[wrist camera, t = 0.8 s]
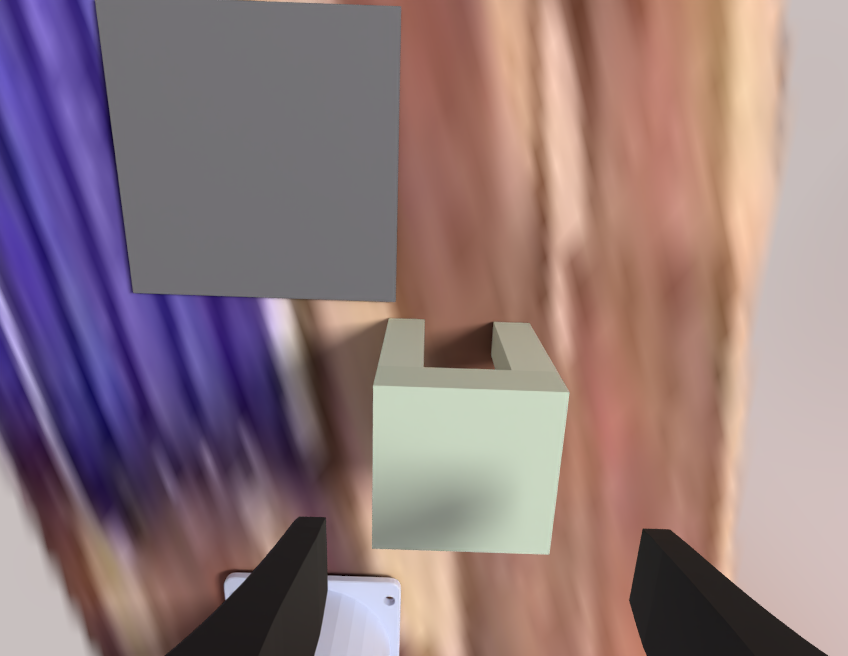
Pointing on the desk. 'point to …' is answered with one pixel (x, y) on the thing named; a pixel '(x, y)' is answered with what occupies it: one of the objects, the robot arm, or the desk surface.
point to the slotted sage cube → (466, 446)
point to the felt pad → (256, 145)
